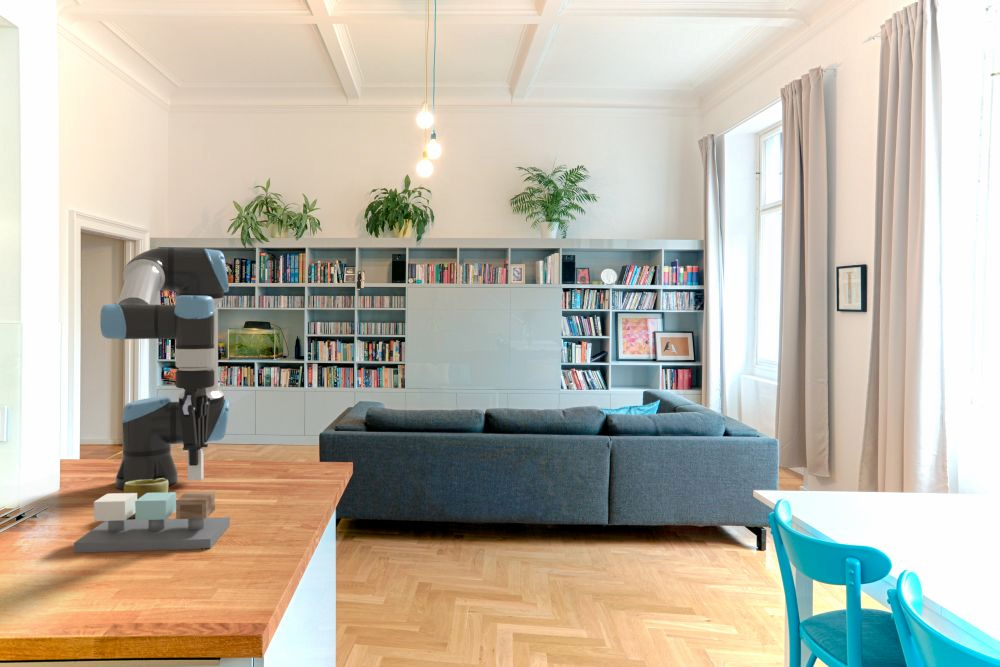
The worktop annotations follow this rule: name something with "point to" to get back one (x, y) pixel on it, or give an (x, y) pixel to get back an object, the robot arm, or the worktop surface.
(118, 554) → the worktop surface
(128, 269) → the robot arm
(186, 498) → the walnut key
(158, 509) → the teal key
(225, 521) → the console
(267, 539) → the worktop surface
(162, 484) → the mug
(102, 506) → the ivory key
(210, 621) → the worktop surface
